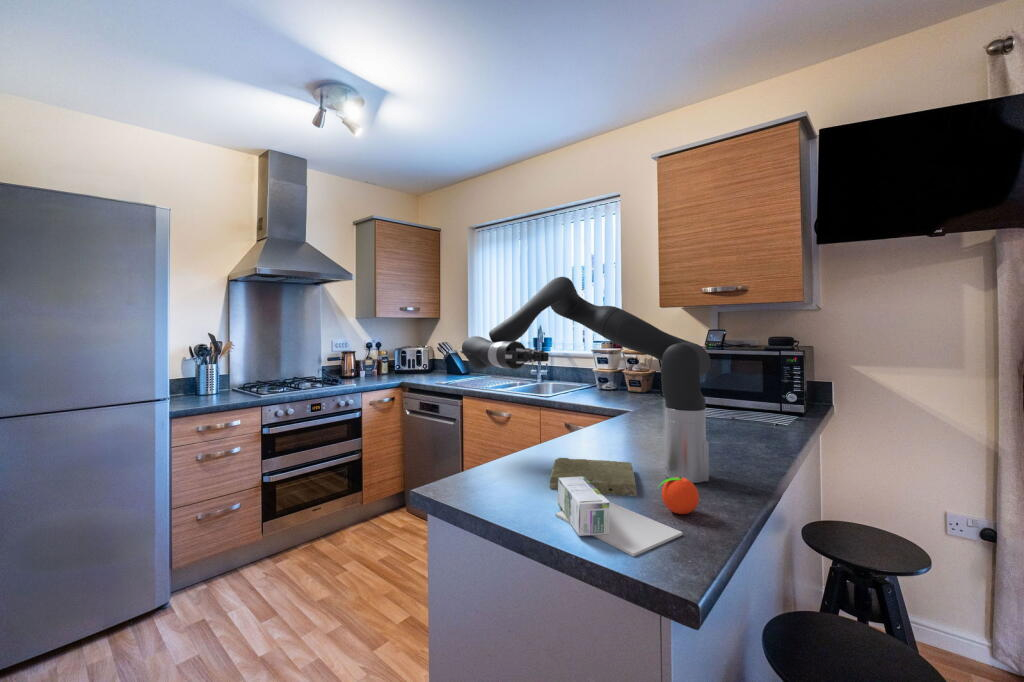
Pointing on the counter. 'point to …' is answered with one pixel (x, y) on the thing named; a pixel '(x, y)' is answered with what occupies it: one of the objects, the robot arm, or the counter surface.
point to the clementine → (679, 495)
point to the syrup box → (583, 506)
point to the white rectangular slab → (633, 531)
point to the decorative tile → (597, 474)
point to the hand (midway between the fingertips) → (546, 357)
